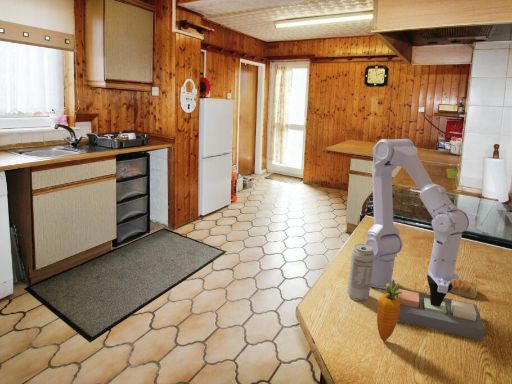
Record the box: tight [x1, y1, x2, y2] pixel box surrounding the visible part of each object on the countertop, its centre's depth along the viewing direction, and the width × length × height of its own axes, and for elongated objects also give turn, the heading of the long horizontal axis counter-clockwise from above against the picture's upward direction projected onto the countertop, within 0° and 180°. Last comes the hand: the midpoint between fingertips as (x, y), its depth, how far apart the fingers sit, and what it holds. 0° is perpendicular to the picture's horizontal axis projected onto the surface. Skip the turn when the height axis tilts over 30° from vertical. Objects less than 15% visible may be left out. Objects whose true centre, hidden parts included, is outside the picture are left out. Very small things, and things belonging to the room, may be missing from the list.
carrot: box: [376, 283, 402, 342], centre depth 84 cm, size 5×5×15 cm
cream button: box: [450, 299, 477, 321], centre depth 93 cm, size 5×5×3 cm
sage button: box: [423, 298, 447, 314], centre depth 96 cm, size 5×5×3 cm
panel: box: [391, 286, 486, 341], centre depth 96 cm, size 21×12×3 cm, turn 69°
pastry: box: [448, 278, 478, 299], centre depth 110 cm, size 9×7×4 cm
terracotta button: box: [398, 288, 420, 308], centre depth 98 cm, size 5×5×3 cm
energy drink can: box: [346, 243, 374, 302], centre depth 103 cm, size 6×6×15 cm
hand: (435, 304), depth 95 cm, fingers closed, pressing on sage button
